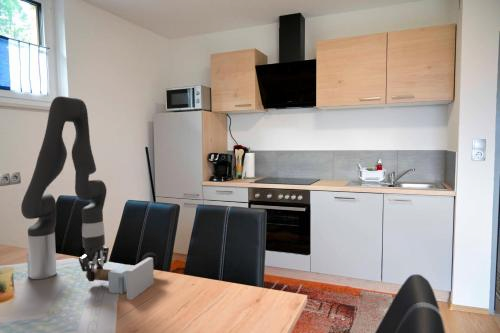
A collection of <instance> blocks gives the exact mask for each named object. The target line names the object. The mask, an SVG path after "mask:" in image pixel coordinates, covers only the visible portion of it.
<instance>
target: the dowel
mask: <svg viewBox="0 0 500 333" xmlns="http://www.w3.org/2000/svg"><path fill="white" fill-rule="evenodd" d="M111 270H112V269H107V268H103V269H96V268H95V267H94V278H95V280H94V281H102V282H103V281H104V282H108V272H109V271H111ZM85 277H86V279H87V280H88V275H87V272H86V274H85Z"/></svg>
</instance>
